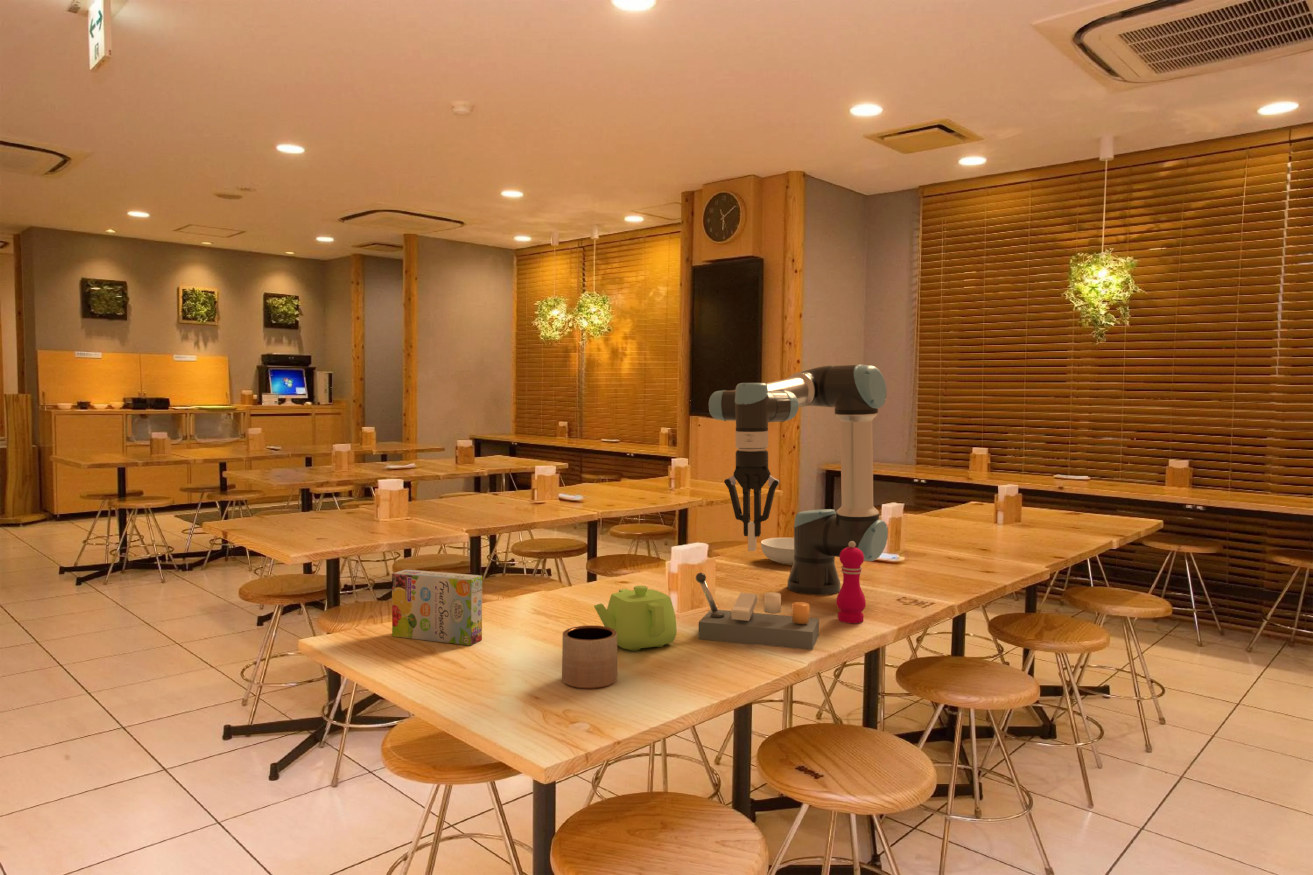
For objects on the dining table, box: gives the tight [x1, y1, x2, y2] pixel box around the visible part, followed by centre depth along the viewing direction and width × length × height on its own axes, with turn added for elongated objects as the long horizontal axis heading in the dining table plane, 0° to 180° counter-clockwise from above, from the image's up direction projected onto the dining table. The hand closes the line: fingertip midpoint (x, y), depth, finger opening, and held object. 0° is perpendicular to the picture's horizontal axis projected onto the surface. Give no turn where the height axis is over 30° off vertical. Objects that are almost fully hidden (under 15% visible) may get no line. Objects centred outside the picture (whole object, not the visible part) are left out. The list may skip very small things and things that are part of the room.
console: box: [698, 609, 820, 651], centre depth 193 cm, size 12×26×6 cm, turn 72°
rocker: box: [730, 592, 758, 621], centre depth 193 cm, size 10×4×2 cm, turn 162°
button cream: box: [763, 591, 782, 615], centre depth 192 cm, size 4×4×4 cm
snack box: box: [391, 569, 483, 646], centre depth 190 cm, size 21×6×15 cm, turn 71°
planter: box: [561, 625, 618, 690], centre depth 163 cm, size 11×11×10 cm
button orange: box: [791, 601, 810, 624], centre depth 190 cm, size 4×4×4 cm
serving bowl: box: [760, 537, 794, 566], centre depth 280 cm, size 21×21×7 cm
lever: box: [695, 572, 719, 613], centre depth 196 cm, size 2×2×10 cm
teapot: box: [593, 585, 677, 652], centre depth 186 cm, size 18×20×13 cm
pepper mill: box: [835, 541, 867, 624], centre depth 208 cm, size 7×7×20 cm
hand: (752, 549), depth 194 cm, fingers closed
